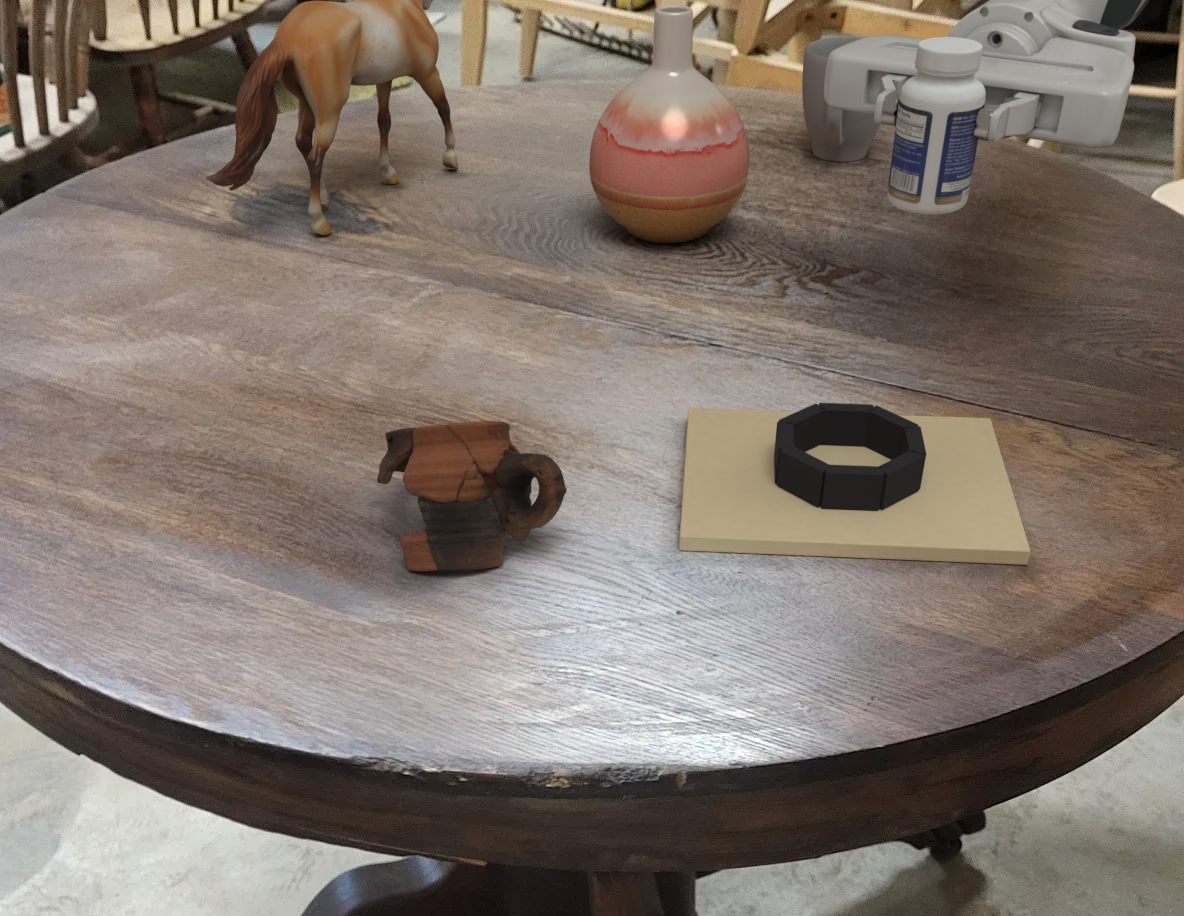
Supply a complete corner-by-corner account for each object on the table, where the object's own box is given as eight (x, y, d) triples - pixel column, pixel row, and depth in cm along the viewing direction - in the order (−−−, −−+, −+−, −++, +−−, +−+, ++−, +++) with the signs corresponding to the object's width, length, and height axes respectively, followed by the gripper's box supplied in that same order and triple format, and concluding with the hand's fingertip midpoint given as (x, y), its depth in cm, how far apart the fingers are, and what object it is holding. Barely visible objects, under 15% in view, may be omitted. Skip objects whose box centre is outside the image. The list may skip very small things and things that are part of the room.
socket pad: (987, 431, 86) (998, 382, 84) (1027, 565, 74) (1040, 513, 72) (687, 420, 88) (690, 372, 86) (679, 550, 76) (681, 498, 73)
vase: (775, 240, 113) (795, 14, 101) (642, 272, 107) (647, 38, 96) (688, 194, 122) (696, -18, 110) (561, 221, 116) (556, 2, 105)
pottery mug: (355, 578, 75) (338, 433, 73) (436, 564, 83) (422, 433, 82) (543, 567, 70) (529, 411, 68) (609, 553, 78) (598, 414, 77)
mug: (803, 136, 134) (813, 33, 128) (889, 143, 132) (903, 40, 126) (781, 173, 126) (790, 65, 120) (872, 181, 124) (886, 72, 118)
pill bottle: (965, 190, 89) (992, 34, 83) (968, 218, 85) (997, 56, 79) (885, 187, 90) (906, 31, 83) (885, 214, 86) (906, 53, 79)
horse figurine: (436, 149, 132) (417, -86, 119) (498, 161, 129) (485, -78, 116) (216, 246, 113) (163, -22, 99) (283, 264, 109) (237, -11, 96)
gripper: (871, 2, 94) (791, 46, 85) (1161, 36, 86) (1106, 87, 77) (860, 95, 98) (783, 146, 89) (1136, 136, 90) (1081, 196, 81)
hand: (935, 119), depth 83 cm, fingers closed on pill bottle, 5 cm apart
